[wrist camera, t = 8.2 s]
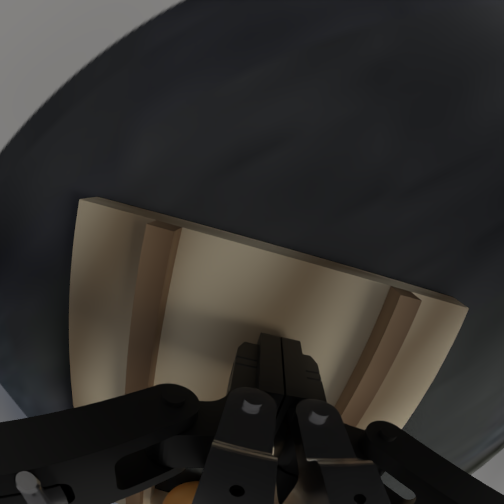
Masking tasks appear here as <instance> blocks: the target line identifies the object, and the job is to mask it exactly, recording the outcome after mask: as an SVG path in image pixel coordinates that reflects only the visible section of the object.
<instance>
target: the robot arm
mask: <svg viewBox="0 0 504 504" xmlns="http://www.w3.org/2000/svg"><path fill="white" fill-rule="evenodd" d="M319 373H320V372H319V368H318V364H317V363H316V362H315V360H314V359H313V358H312V357H311V356H309V355H304V354H303V353H302V348H301V342H300V341H298V340H294V339H289V338H284V337H281V338H280V337H279V336H275V335H271V334H266V333H262V332H261V333H260V336H259V339H258V342H257V344H253V343H248V342H244V343H242V344H241V345H240V346H239V347H238V349H237V352H236V356H235V360H234V363H233V367H232V371H231V374H230V378H229V382H228V388H227V393H226V396H225V397H223V398H221V399H219V400H215V401H199V399H198V397H197V396H196V395H195V394H194V392H192V391H191V390H189V389H188V388H186V387H184V386H181V385H177V384H171V383H164V384H159V385H155V386H152V387H149V388H146V389H142V390H139V391H136V392H132V393H129V394H125V395H122V396H118V397H115V398H111V399H107V400H104V401H100V402H96V403H92V404H88V405H84V406H80V407H76V408H72V409H68V410H63V411H59V412H54V413H49V414H45V415H40V416H35V417H29V418H24V419H18V420H12V421H6V422H0V504H111V503H114V502H116V501H119V500H122V499H124V498H127V497H129V496H131V495H134V494H136V493H139V492H141V491H143V490H146V489H148V488H150V487H152V486H154V485H157V484H159V483H161V482H163V481H165V480H167V479H169V478H171V477H173V476H175V475H177V474H179V473H181V472H183V471H184V470H185V468H204V469H203V472H202V475H201V478H200V481H199V484H198V487H197V490H196V493H195V496H194V499H193V501H192V504H504V495H502V494H501V493H499V492H497V491H496V490H494V489H492V488H491V487H489V486H487V485H486V484H484V483H482V482H481V481H479V480H477V479H476V478H474V477H473V476H471V475H469V474H468V473H466V472H465V471H463V470H462V469H460V468H458V467H457V466H455V465H454V464H452V463H451V462H449V461H448V460H446V459H445V458H443V457H441V456H440V455H438V454H437V453H435V452H434V451H432V450H431V449H429V448H428V447H427V446H425V445H424V444H422V443H421V442H419V441H418V440H416V439H415V438H413V437H412V436H410V435H409V434H408V433H406V432H405V431H403V430H402V429H400V428H399V427H398V426H396V425H394V424H392V423H390V422H387V421H373V422H371V423H370V424H369V425H368V426H367V427H366V429H365V430H363V429H360V428H357V427H353V426H350V425H347V424H345V423H343V420H342V418H341V415H340V413H339V412H338V410H337V409H336V408H335V407H334V406H332V405H331V404H329V403H327V400H326V396H325V392H324V388H323V384H322V381H321V376H320V374H319ZM273 447H274V454H273V455H272V453H273ZM385 471H386V472H387V473H389V474H390V475H391V476H393V477H394V478H395V479H397V480H398V481H399V482H401V483H402V484H403V485H405V486H406V487H408V488H409V489H410V490H412V491H413V492H414V493H415V495H416V497H415V498H414V499H411V500H406V499H404V498H402V497H401V496H399V495H398V494H397V493H395V492H394V491H392V490H391V489H390V488H388V487H387V486H386V485H385V484H383V482H382V480H381V476H382V474H383V473H384V472H385Z"/></svg>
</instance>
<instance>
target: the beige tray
mask: <svg viewBox="0 0 504 504" xmlns="http://www.w3.org/2000/svg"><path fill="white" fill-rule="evenodd" d="M468 309H469V308H468V307H466V306H465V305H463V304H462V303H461V302H459V301H458V300H456V299H455V298H453V297H451V296H447V295H444V294H441V293H438V292H434V291H431V290H428V289H424V288H421V287H418V286H414V285H411V284H408V283H404V282H401V281H398V280H394V279H391V278H387V277H384V276H381V275H377V274H374V273H370V272H367V271H364V270H360V269H357V268H353V267H350V266H347V265H343V264H340V263H336V262H333V261H329V260H326V259H322V258H319V257H315V256H312V255H308V254H305V253H301V252H298V251H294V250H291V249H287V248H284V247H280V246H277V245H273V244H270V243H266V242H262V241H259V240H255V239H252V238H248V237H245V236H241V235H237V234H234V233H230V232H227V231H223V230H219V229H216V228H212V227H209V226H205V225H201V224H198V223H194V222H190V221H187V220H183V219H179V218H176V217H172V216H168V215H164V214H161V213H157V212H153V211H150V210H146V209H142V208H138V207H135V206H131V205H127V204H123V203H120V202H116V201H112V200H108V199H104V198H100V197H92V198H84V199H79V205H78V212H77V219H76V226H75V234H74V242H73V252H72V263H71V277H70V296H69V353H70V372H71V386H72V396H73V406H74V408H76V407H80V406H84V405H88V404H92V403H96V402H100V401H104V400H107V399H111V398H115V397H118V396H122V395H125V394H129V393H132V392H136V391H139V390H142V389H146V388H149V387H152V386H155V385H159V384H164V383H171V384H177V385H181V386H184V387H186V388H188V389H189V390H191V391H192V392H194V394H195V395H196V396H197V397H198V399H199V401H215V400H219V399H221V398H223V397H225V396H226V393H227V388H228V382H229V378H230V374H231V371H232V367H233V363H234V360H235V356H236V352H237V349H238V347H239V346H240V345H241V344H242V343H244V342H248V343H253V344H257V342H258V339H259V336H260V333H261V332H262V333H266V334H271V335H275V336H279V337H280V338H281V337H284V338H289V339H294V340H298V341H300V342H301V348H302V353H303V354H304V355H309V356H311V357H312V358H313V359H314V360H315V362H316V363H317V364H318V368H319V372H320V373H319V374H320V376H321V381H322V384H323V388H324V392H325V396H326V400H327V403H329V404H331V405H332V406H334V407H335V408H336V409H337V410H338V412H339V413H340V415H341V418H342V420H343V423H345V424H347V425H350V426H353V427H357V428H360V429H363V430H365V429H366V427H367V426H368V425H369V424H370V423H371V422H373V421H387V422H390V423H392V424H394V425H396V426H398V427H399V428H400V429H402V428H403V427H404V425H405V424H406V422H407V421H408V419H409V418H410V416H411V415H412V413H413V412H414V410H415V409H416V407H417V406H418V404H419V403H420V401H421V399H422V398H423V396H424V395H425V393H426V391H427V390H428V388H429V386H430V385H431V383H432V381H433V380H434V378H435V376H436V374H437V373H438V371H439V369H440V367H441V365H442V364H443V362H444V360H445V358H446V356H447V354H448V352H449V350H450V348H451V346H452V344H453V342H454V340H455V338H456V336H457V334H458V332H459V330H460V328H461V325H462V323H463V321H464V319H465V316H466V314H467V312H468ZM273 454H274V447H273V453H272V455H273ZM167 494H168V492H165V491H161V490H158V489H155V485H154V486H152V487H150V488H148V489H146V490H143V491H141V492H139V493H136V494H134V495H131V496H129V497H127V498H124V499H122V500H119V501H116V503H118V504H163V501H164V499H165V497H166V496H167Z"/></svg>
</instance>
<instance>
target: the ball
mask: <svg viewBox="0 0 504 504" xmlns="http://www.w3.org/2000/svg"><path fill="white" fill-rule="evenodd" d="M198 484H199V481H191V482H186V483H183V484H180V485H178V486H176V487H175V488H174V489H172V490H171V491H170V492H169V493H168V494H167V496H166V497H165V499H164V501H163V504H192V501H193V499H194V496H195V493H196V490H197V487H198Z"/></svg>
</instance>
